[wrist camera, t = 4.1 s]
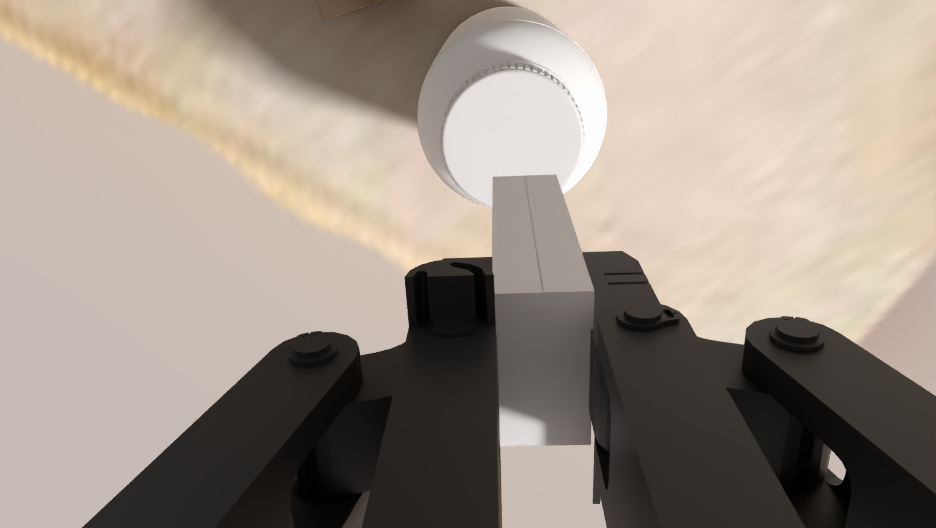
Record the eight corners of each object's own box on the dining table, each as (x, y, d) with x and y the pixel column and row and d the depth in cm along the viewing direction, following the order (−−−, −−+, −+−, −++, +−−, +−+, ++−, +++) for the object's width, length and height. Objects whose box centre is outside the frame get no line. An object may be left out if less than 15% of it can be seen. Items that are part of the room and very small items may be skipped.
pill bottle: (454, 165, 41) (434, 262, 27) (419, 25, 38) (377, 52, 24) (588, 135, 40) (639, 219, 26) (563, -11, 37) (606, -4, 23)
